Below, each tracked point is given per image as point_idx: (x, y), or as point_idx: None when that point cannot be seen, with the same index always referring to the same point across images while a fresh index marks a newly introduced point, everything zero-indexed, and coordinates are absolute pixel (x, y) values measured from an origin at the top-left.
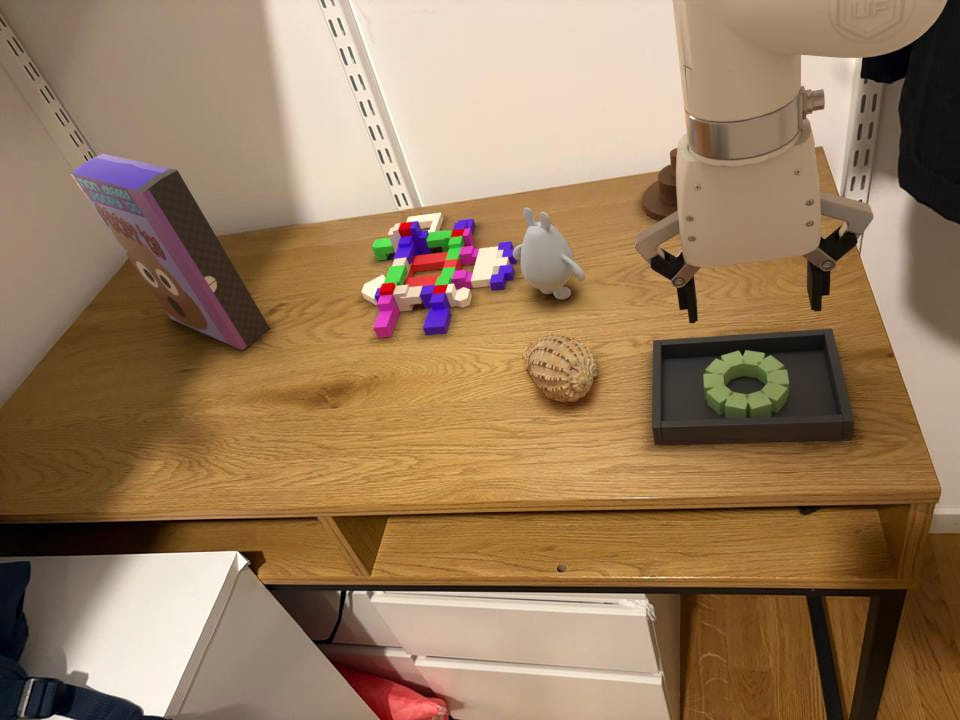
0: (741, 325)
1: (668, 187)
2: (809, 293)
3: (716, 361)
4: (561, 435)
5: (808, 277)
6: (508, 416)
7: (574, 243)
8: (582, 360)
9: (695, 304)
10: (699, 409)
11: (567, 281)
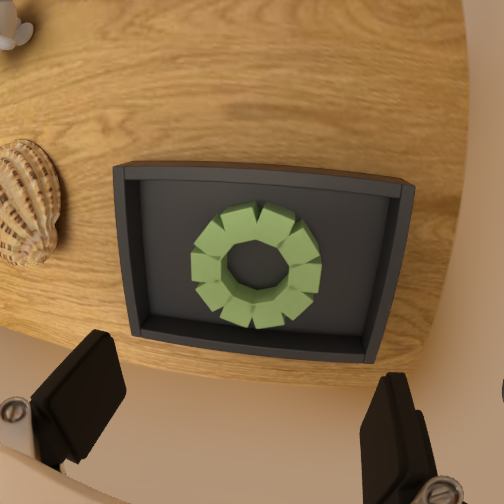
0: (273, 95)
1: None
2: (372, 420)
3: (211, 228)
4: (54, 284)
5: (382, 436)
6: None
7: None
8: (26, 233)
9: (104, 427)
10: (192, 283)
11: (10, 36)
